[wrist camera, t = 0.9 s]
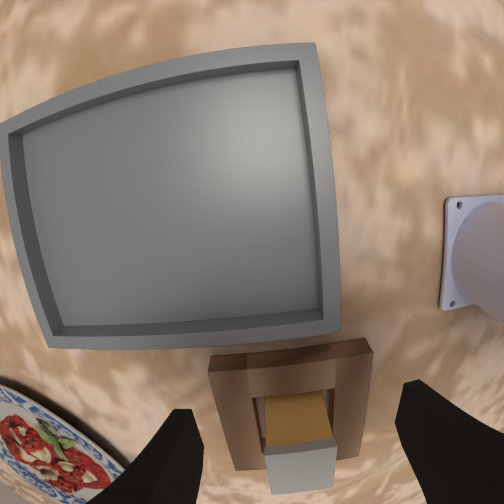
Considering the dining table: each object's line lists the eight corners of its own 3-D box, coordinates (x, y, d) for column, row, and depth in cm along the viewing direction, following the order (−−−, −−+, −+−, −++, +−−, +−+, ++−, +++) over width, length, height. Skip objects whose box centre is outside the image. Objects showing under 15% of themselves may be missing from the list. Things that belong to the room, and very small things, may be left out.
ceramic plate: (93, 514, 31) (88, 526, 29) (-34, 409, 26) (-43, 420, 23) (195, 490, 26) (191, 511, 24) (1, 330, 21) (-18, 346, 18)
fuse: (320, 380, 21) (337, 446, 15) (320, 425, 23) (332, 487, 16) (262, 387, 21) (264, 455, 15) (269, 431, 23) (271, 494, 17)
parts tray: (308, 55, 15) (315, 42, 13) (332, 315, 20) (340, 332, 18) (17, 125, 16) (-2, 124, 14) (62, 333, 21) (48, 347, 18)
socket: (365, 338, 20) (373, 352, 18) (354, 441, 23) (358, 456, 22) (211, 356, 21) (207, 371, 19) (236, 455, 24) (235, 470, 22)
